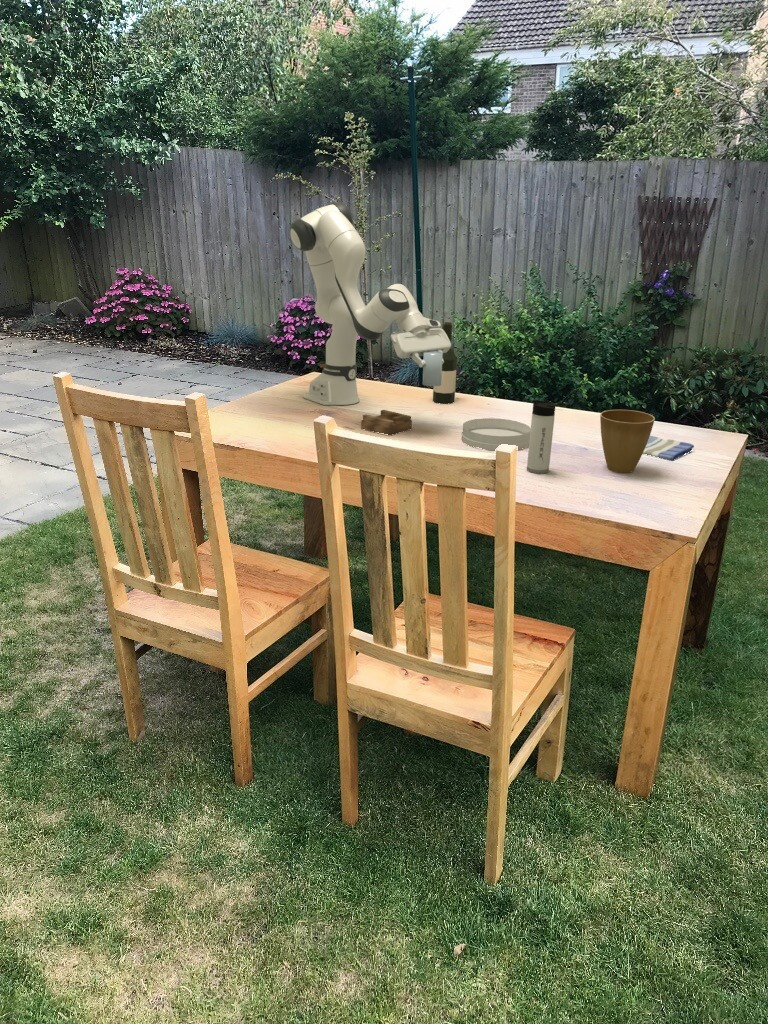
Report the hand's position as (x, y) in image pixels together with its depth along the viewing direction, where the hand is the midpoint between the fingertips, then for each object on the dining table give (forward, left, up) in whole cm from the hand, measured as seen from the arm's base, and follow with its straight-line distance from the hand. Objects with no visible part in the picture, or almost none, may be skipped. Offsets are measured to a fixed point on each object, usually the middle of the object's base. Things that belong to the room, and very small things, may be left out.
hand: (432, 364), depth 249 cm
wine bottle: (-24, +41, -23) cm, 53 cm away
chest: (-14, -5, -23) cm, 27 cm away
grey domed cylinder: (0, 0, -6) cm, 6 cm away
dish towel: (+59, +38, -24) cm, 74 cm away
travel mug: (+45, -8, -23) cm, 51 cm away
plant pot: (+62, +10, -23) cm, 67 cm away
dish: (+20, +9, -23) cm, 32 cm away
